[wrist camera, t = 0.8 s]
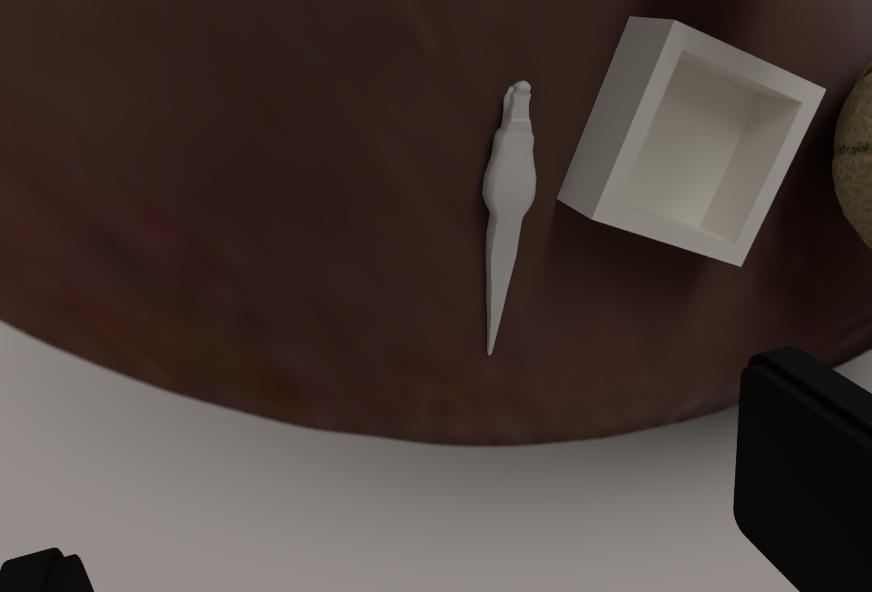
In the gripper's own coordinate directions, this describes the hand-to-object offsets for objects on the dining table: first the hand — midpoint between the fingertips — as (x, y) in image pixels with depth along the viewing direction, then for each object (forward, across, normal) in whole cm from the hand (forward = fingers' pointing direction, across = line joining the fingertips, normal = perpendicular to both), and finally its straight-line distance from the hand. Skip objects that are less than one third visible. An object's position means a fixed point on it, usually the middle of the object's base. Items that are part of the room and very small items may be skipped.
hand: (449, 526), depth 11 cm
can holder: (+28, -20, +4) cm, 35 cm away
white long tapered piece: (+28, -11, +7) cm, 31 cm away
